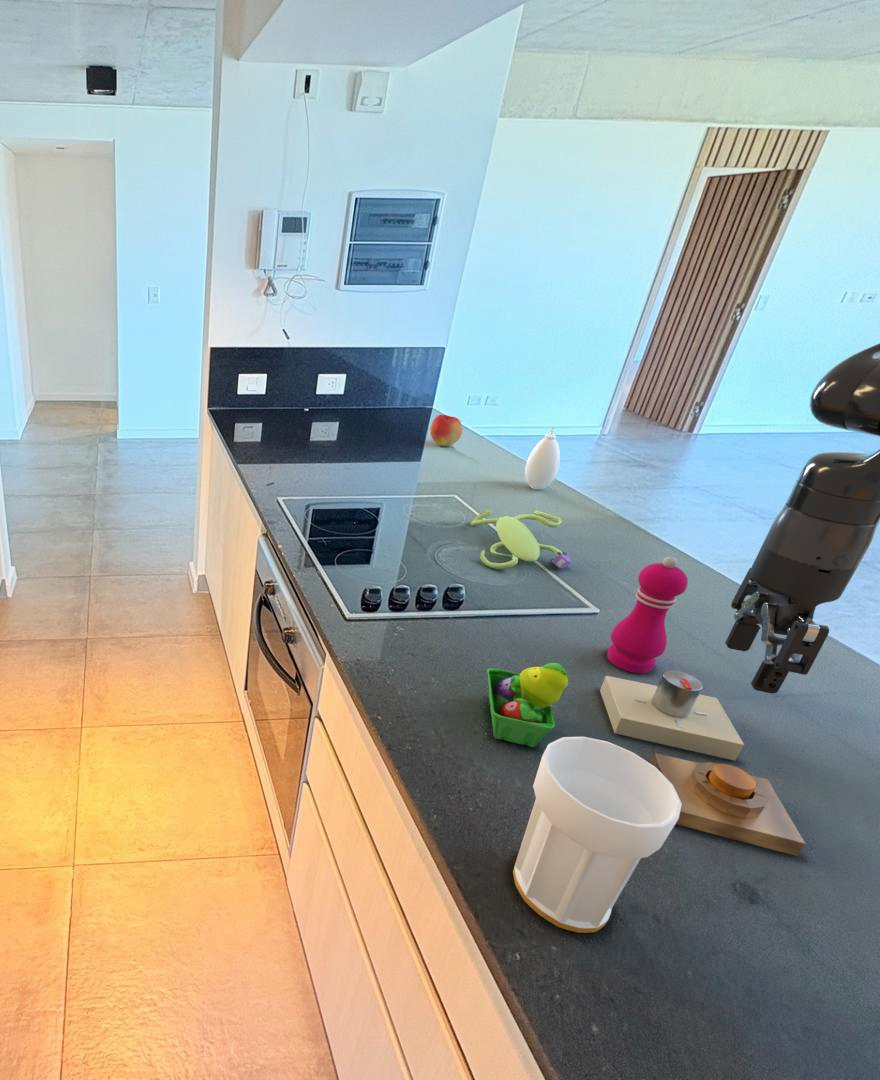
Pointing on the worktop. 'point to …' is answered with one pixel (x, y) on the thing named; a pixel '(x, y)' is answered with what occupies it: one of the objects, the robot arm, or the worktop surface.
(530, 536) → the figurine
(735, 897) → the worktop surface
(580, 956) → the worktop surface
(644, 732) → the dimmer panel
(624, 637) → the pepper mill
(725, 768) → the light button
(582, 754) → the cup
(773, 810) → the switch block
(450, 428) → the apple
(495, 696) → the fruit basket
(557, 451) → the sauce bottle
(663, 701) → the dimmer knob
